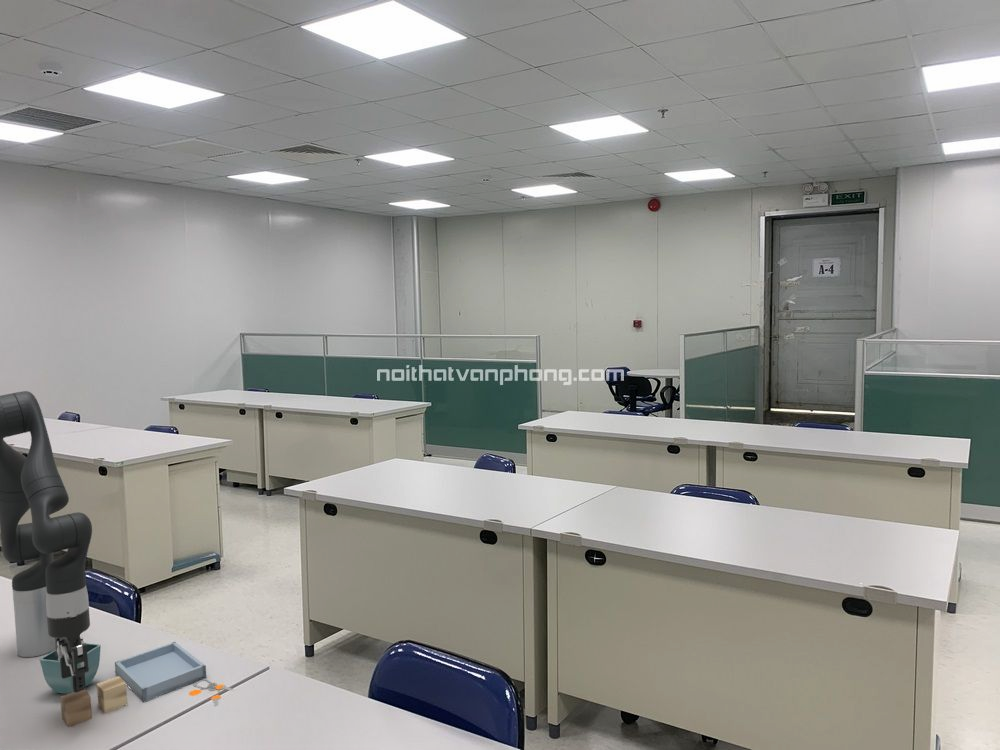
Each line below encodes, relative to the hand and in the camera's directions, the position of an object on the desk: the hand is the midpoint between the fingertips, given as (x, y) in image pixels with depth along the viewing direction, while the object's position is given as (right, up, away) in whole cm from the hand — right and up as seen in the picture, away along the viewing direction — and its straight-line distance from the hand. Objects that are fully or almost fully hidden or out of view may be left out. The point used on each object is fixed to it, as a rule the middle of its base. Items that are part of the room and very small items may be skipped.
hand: (73, 683), depth 147 cm
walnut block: (0, -8, +1) cm, 8 cm away
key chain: (+25, -7, +11) cm, 28 cm away
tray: (+10, -6, +18) cm, 22 cm away
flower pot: (-8, -7, +13) cm, 17 cm away
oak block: (+5, -7, +6) cm, 11 cm away
